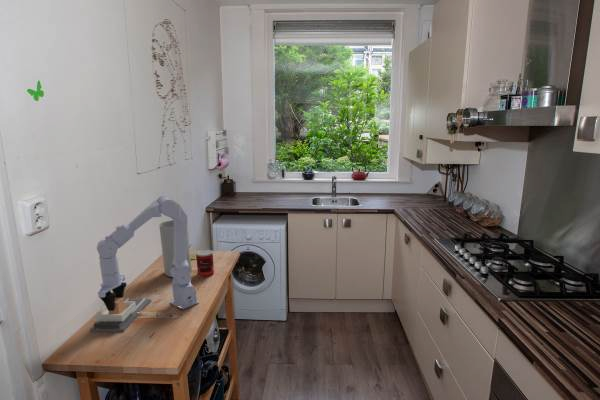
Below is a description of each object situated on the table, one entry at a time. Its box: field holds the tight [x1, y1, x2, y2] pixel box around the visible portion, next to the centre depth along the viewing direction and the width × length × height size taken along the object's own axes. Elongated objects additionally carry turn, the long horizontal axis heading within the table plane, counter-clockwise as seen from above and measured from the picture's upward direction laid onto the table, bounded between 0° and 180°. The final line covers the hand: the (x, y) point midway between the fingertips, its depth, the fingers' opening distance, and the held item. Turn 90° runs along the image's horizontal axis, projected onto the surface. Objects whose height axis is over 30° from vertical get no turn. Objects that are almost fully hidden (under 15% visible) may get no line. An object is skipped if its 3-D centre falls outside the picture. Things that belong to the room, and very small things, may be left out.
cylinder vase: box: [159, 219, 193, 278], centre depth 177 cm, size 12×12×25 cm
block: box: [108, 297, 125, 314], centre depth 136 cm, size 4×4×5 cm
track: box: [90, 298, 152, 333], centre depth 141 cm, size 22×12×3 cm, turn 177°
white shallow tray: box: [94, 302, 136, 322], centre depth 136 cm, size 10×10×4 cm
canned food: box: [195, 249, 215, 278], centre depth 176 cm, size 8×8×11 cm
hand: (115, 306), depth 136 cm, fingers open, 5 cm apart
